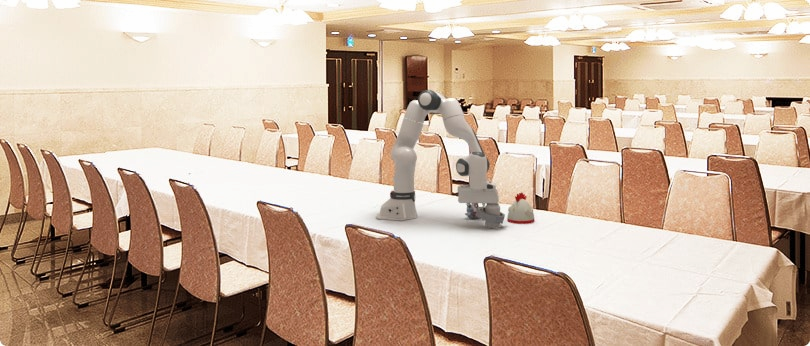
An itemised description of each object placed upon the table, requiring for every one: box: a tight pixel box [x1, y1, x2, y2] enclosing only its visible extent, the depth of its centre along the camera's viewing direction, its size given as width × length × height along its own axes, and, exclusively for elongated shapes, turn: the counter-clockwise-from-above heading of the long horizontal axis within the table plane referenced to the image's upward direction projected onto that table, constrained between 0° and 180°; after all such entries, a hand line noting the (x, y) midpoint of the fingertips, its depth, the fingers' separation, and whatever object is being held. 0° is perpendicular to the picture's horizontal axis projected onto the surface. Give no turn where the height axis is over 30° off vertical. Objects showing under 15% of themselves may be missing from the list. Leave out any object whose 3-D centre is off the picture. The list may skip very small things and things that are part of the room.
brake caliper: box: [464, 203, 481, 220], centre depth 348 cm, size 11×11×12 cm
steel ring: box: [476, 206, 506, 225], centre depth 327 cm, size 14×14×4 cm
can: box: [484, 202, 501, 229], centre depth 327 cm, size 8×8×12 cm
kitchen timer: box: [506, 191, 535, 225], centre depth 338 cm, size 14×14×15 cm
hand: (478, 211), depth 328 cm, fingers closed on steel ring, 2 cm apart
